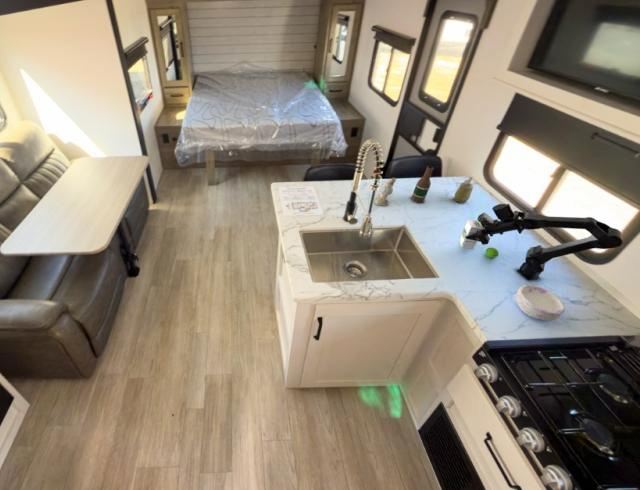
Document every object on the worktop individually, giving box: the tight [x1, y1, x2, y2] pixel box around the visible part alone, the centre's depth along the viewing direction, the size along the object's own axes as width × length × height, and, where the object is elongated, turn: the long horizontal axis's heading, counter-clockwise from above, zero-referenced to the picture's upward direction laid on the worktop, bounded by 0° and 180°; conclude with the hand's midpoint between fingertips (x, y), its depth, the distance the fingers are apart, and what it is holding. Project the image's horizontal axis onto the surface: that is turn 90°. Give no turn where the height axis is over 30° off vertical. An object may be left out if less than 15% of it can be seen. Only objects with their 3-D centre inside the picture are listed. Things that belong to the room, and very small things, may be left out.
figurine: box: [374, 177, 397, 206], centre depth 196 cm, size 9×8×20 cm
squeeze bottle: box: [454, 175, 474, 204], centre depth 197 cm, size 8×8×18 cm
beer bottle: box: [411, 165, 434, 204], centre depth 196 cm, size 8×8×24 cm
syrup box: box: [458, 219, 483, 250], centre depth 162 cm, size 6×6×14 cm
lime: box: [485, 247, 500, 259], centre depth 161 cm, size 5×5×5 cm
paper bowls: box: [513, 284, 566, 322], centre depth 135 cm, size 15×15×8 cm
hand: (467, 233), depth 163 cm, fingers closed on syrup box, 7 cm apart
